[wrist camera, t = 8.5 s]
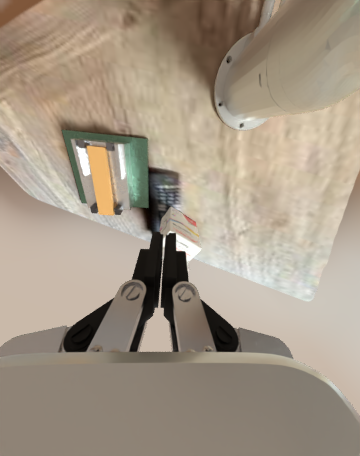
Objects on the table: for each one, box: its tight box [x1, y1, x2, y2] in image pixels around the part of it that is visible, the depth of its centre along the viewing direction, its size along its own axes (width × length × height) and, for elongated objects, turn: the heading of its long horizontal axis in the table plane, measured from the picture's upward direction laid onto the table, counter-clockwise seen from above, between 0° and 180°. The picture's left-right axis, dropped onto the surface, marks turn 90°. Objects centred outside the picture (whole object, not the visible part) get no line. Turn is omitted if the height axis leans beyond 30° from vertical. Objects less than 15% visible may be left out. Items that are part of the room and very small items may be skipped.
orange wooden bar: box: [87, 146, 115, 215], centre depth 29 cm, size 13×3×1 cm, turn 175°
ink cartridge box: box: [160, 207, 201, 271], centre depth 35 cm, size 9×5×15 cm, turn 54°
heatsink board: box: [62, 130, 149, 215], centre depth 31 cm, size 15×16×7 cm
